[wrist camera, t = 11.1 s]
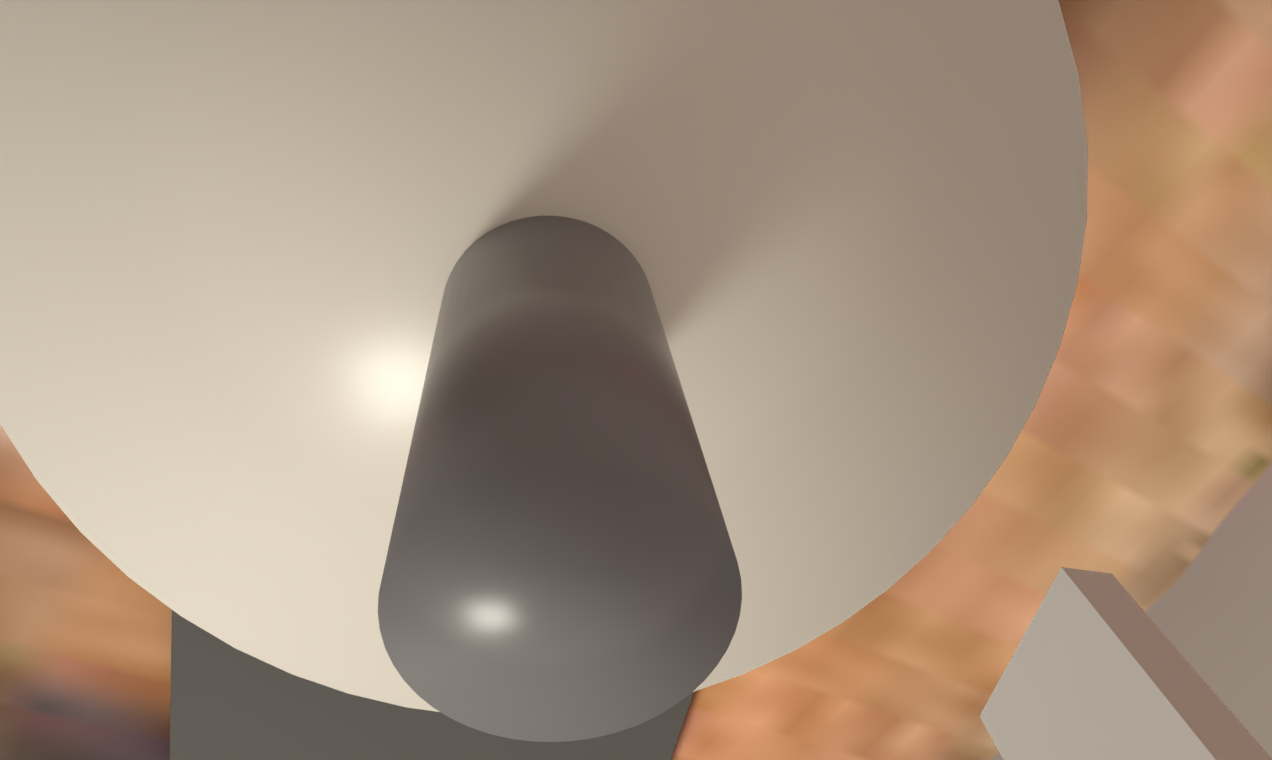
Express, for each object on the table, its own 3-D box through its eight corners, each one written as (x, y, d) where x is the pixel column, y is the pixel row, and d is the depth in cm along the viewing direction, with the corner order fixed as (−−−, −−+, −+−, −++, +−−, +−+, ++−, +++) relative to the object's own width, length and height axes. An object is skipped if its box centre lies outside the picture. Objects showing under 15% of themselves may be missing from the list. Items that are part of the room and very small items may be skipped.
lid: (-100, -591, 13) (-1511, -1702, 4) (1257, -147, 18) (2027, -199, 9) (2, 636, 23) (-341, 1114, 14) (855, 718, 27) (1015, 1118, 18)
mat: (179, 471, 34) (174, 480, 34) (739, 544, 38) (742, 552, 38) (172, 857, 44) (167, 869, 43) (623, 881, 48) (624, 892, 47)
